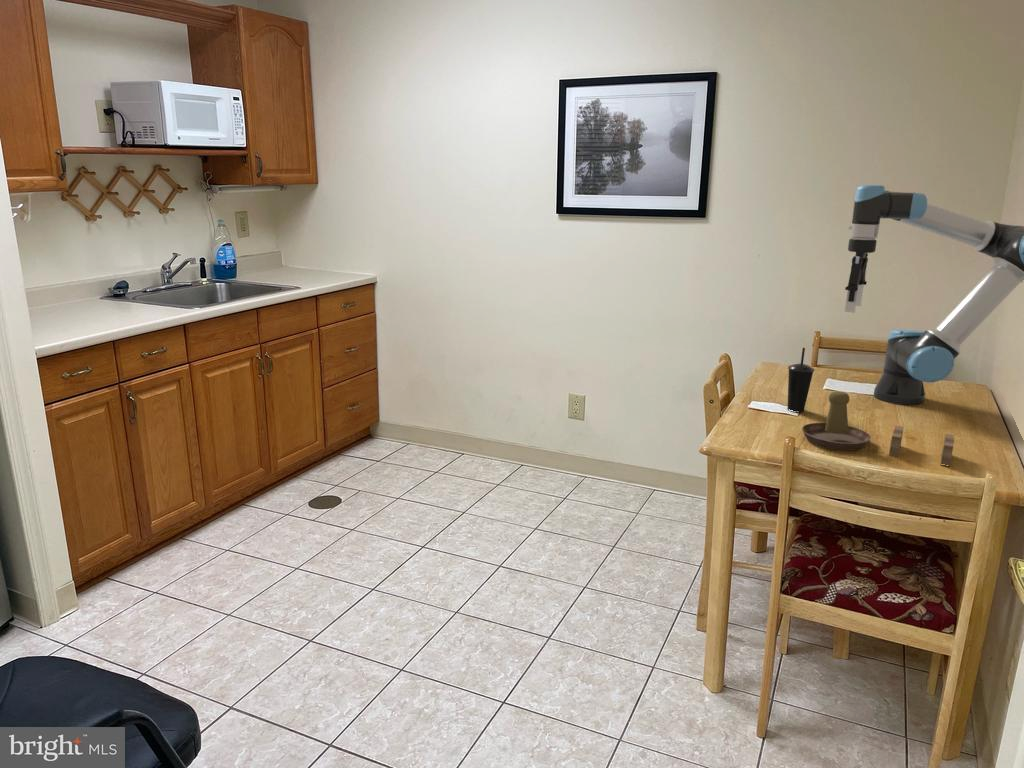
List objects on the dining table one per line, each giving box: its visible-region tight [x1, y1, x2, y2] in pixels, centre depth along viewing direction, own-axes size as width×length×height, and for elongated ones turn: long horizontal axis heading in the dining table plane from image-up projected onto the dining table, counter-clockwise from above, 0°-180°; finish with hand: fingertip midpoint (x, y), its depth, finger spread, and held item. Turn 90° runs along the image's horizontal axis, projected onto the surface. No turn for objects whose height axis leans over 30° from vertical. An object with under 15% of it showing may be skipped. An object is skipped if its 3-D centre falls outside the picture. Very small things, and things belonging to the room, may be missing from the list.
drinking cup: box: [787, 347, 815, 413], centre depth 231 cm, size 8×8×20 cm
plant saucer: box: [801, 422, 872, 451], centre depth 208 cm, size 18×18×3 cm
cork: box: [825, 391, 850, 434], centre depth 206 cm, size 6×6×11 cm
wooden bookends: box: [888, 425, 955, 465], centre depth 197 cm, size 10×14×6 cm
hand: (852, 308), depth 228 cm, fingers open, 13 cm apart
